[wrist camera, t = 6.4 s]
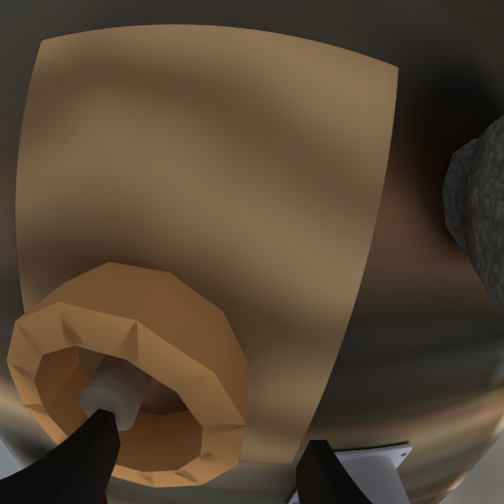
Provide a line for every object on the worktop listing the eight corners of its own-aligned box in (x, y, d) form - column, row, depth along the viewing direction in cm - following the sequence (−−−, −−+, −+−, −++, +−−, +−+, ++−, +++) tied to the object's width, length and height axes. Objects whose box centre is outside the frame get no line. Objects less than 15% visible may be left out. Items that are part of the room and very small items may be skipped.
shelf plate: (289, 450, 16) (296, 507, 12) (60, 405, 16) (32, 449, 11) (386, 74, 11) (444, 42, 6) (54, 46, 10) (-2, 20, 5)
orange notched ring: (231, 442, 15) (228, 499, 11) (70, 405, 14) (44, 449, 10) (261, 285, 12) (267, 341, 8) (43, 248, 11) (-13, 279, 7)
